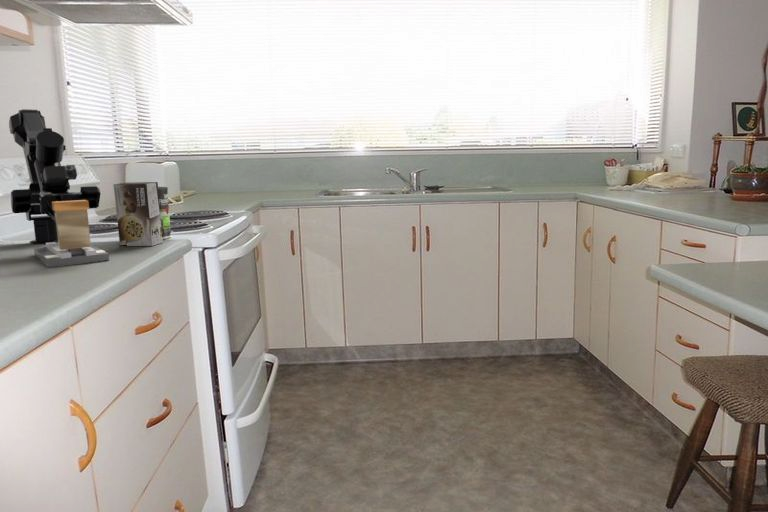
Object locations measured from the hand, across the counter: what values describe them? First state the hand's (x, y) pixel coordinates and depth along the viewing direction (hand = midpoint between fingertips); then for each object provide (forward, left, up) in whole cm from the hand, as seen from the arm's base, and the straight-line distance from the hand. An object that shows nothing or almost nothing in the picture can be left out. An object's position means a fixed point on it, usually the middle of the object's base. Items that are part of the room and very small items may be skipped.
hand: (64, 226), depth 140 cm
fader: (+9, +6, -5) cm, 12 cm away
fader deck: (+4, +3, -7) cm, 8 cm away
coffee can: (-25, +11, -7) cm, 29 cm away
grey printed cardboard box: (-14, +12, -7) cm, 20 cm away
